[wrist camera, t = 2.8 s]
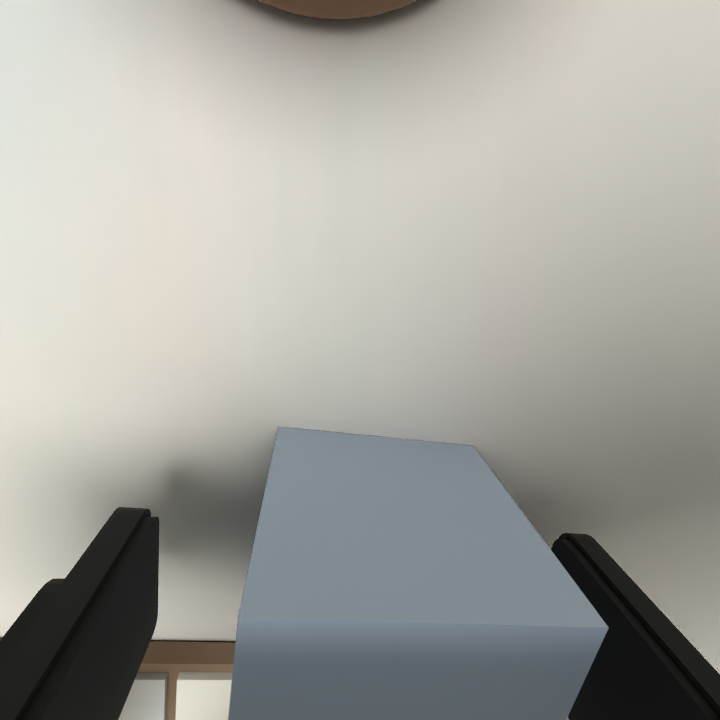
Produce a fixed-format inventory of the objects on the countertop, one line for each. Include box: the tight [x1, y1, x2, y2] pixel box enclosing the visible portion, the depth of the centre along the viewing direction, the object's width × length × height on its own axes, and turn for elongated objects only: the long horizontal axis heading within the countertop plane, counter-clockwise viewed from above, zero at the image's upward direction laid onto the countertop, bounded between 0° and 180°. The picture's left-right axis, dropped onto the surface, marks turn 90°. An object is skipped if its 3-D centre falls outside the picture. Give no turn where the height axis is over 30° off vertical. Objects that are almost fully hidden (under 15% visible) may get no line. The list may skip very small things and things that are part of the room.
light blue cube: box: [228, 426, 609, 720], centre depth 8 cm, size 5×5×5 cm
